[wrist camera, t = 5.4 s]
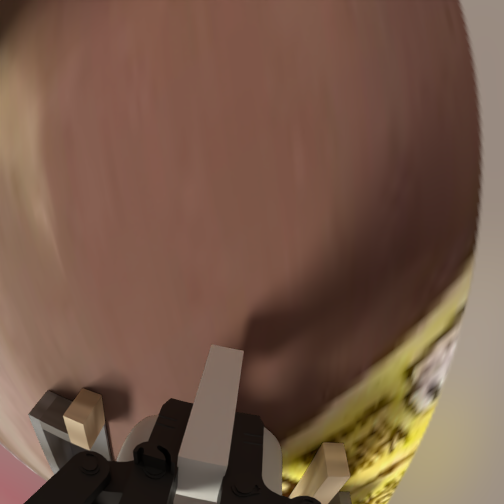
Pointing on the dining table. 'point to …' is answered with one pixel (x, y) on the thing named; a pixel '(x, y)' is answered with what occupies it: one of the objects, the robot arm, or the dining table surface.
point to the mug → (269, 476)
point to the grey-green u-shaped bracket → (95, 439)
